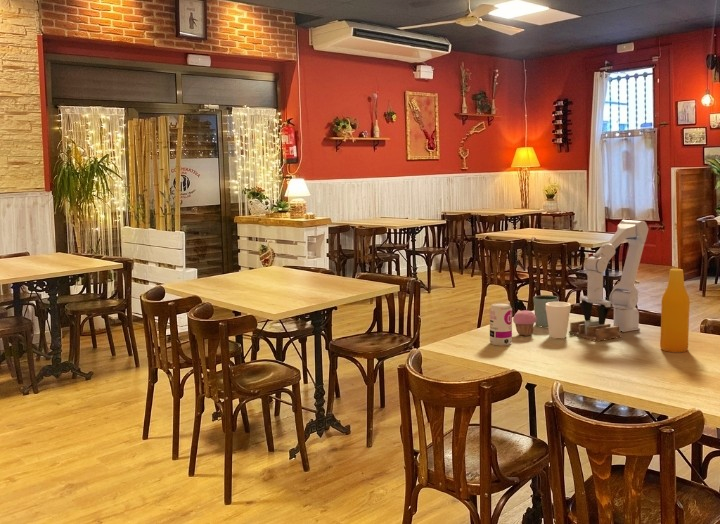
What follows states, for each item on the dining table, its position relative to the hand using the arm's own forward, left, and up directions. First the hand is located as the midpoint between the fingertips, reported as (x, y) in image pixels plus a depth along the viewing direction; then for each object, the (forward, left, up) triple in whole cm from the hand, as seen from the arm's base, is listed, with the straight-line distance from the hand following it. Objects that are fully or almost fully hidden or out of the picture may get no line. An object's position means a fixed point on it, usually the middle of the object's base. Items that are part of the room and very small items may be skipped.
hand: (594, 322), depth 281 cm
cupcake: (+22, -15, -6) cm, 27 cm away
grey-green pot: (+4, -24, -6) cm, 25 cm away
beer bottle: (-9, +30, -6) cm, 32 cm away
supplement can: (+38, -9, -6) cm, 40 cm away
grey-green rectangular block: (0, 0, -4) cm, 4 cm away
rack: (0, 0, -5) cm, 5 cm away
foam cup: (+13, -6, -6) cm, 15 cm away
